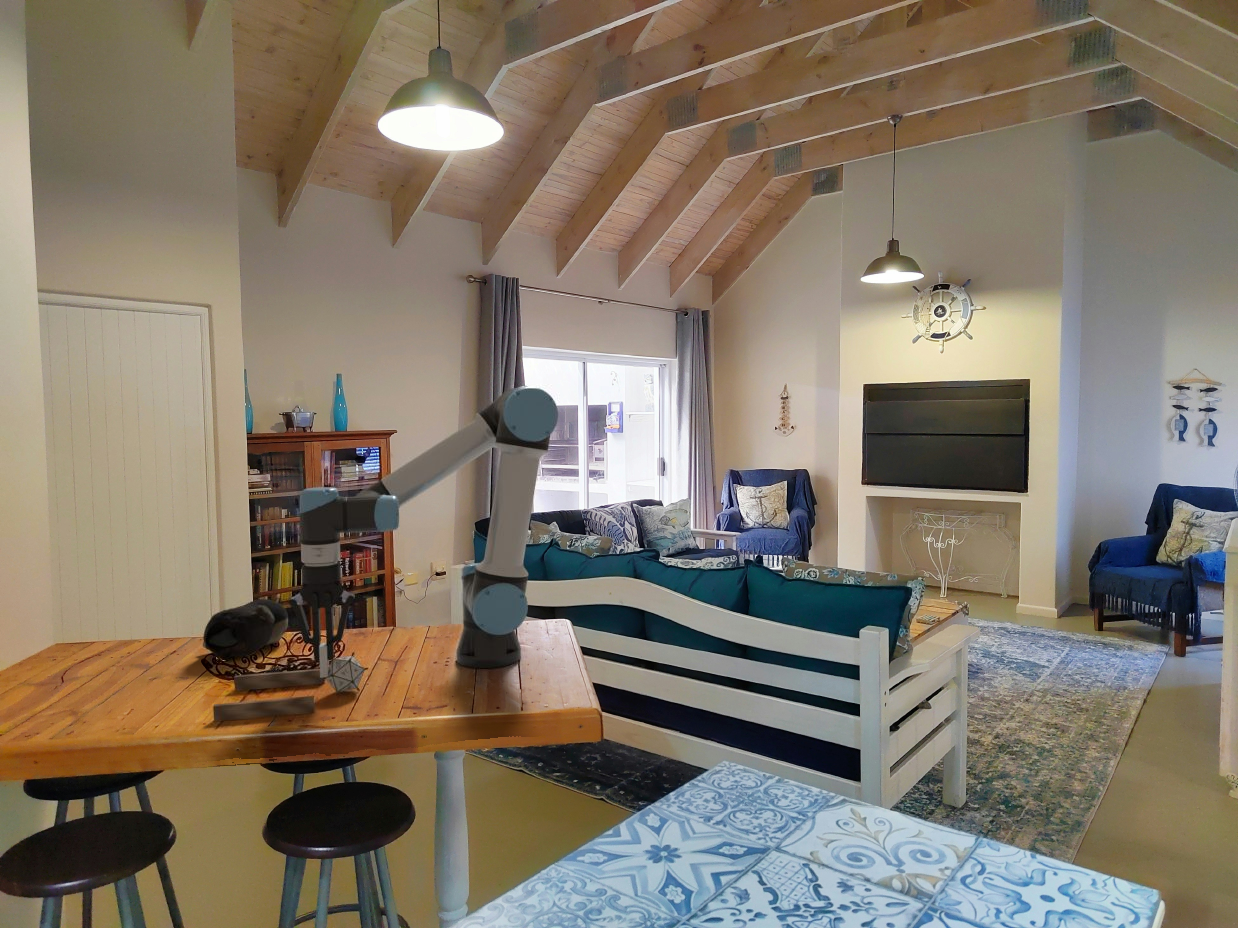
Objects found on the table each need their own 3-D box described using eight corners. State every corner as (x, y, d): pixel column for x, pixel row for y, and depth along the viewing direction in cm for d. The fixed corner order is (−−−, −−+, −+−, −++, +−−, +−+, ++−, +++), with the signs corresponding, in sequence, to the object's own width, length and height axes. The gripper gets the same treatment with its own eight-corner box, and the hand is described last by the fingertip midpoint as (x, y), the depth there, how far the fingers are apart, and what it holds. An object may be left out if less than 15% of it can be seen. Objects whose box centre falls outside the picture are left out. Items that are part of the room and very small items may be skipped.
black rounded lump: (201, 683, 189) (174, 634, 188) (254, 652, 209) (230, 607, 209) (267, 651, 185) (240, 600, 184) (314, 622, 205) (290, 577, 205)
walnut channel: (325, 681, 173) (324, 668, 173) (313, 712, 156) (313, 697, 156) (235, 689, 169) (235, 675, 169) (213, 721, 152) (213, 706, 152)
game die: (352, 710, 166) (364, 680, 161) (312, 698, 165) (323, 667, 160) (364, 679, 174) (376, 649, 169) (327, 667, 172) (337, 636, 167)
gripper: (284, 568, 158) (288, 683, 159) (352, 564, 161) (355, 678, 162) (290, 561, 165) (294, 671, 167) (355, 557, 168) (359, 666, 170)
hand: (324, 674), depth 165 cm, fingers closed
